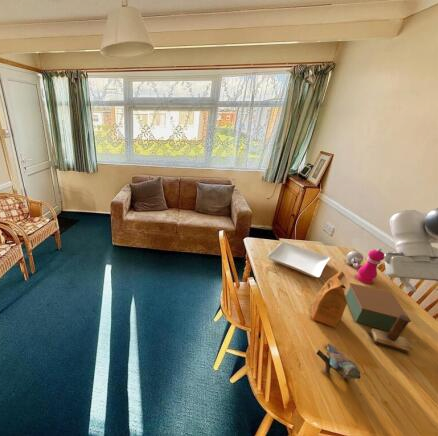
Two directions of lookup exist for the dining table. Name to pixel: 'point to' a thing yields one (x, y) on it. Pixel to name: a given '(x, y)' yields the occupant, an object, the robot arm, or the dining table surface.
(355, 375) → the bird figurine
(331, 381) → the dining table surface
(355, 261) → the round bodied animal figurine
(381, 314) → the cabinet
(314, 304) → the coffee package
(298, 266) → the square plate
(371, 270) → the pepper mill
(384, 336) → the brush
